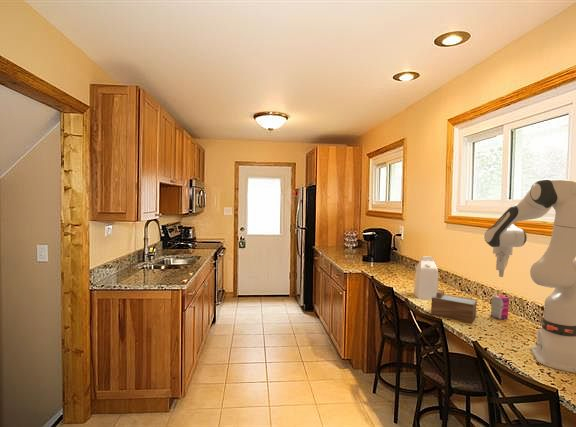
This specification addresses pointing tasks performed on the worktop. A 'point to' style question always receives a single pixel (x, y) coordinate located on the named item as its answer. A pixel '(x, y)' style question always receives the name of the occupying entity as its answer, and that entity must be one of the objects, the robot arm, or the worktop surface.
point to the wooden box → (453, 309)
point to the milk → (426, 278)
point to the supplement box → (499, 307)
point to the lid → (453, 298)
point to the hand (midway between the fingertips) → (501, 276)
